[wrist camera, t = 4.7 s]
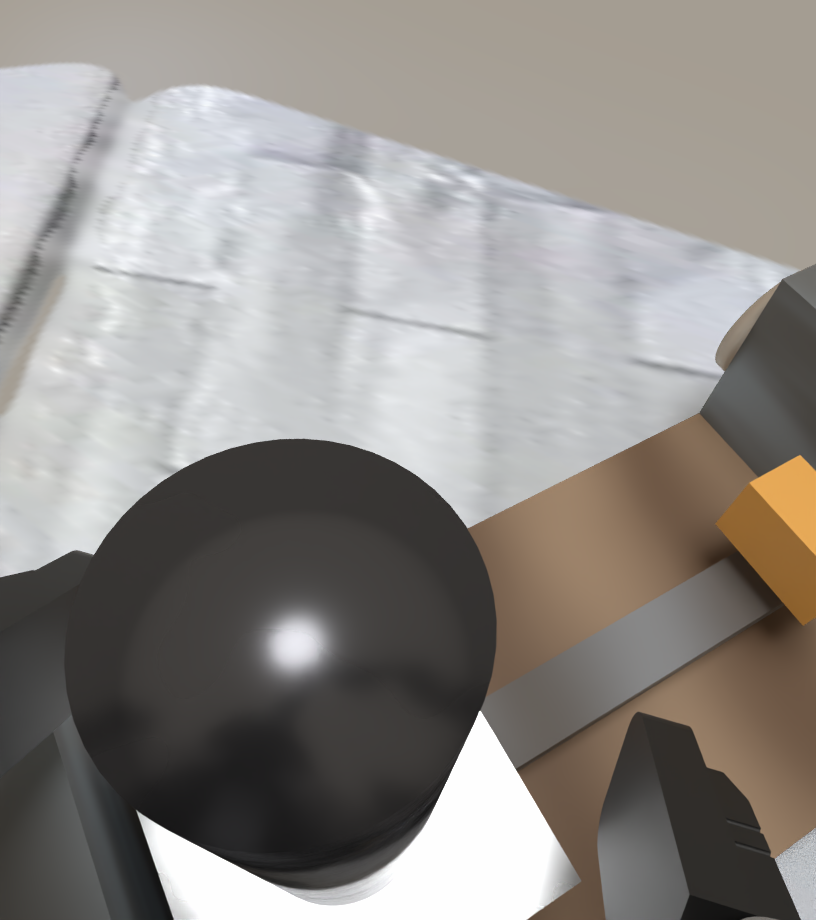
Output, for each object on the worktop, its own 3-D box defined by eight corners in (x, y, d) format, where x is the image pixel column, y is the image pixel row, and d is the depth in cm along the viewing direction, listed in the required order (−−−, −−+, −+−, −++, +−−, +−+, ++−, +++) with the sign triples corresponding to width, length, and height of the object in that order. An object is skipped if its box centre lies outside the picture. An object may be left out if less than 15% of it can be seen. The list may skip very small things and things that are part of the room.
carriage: (399, 633, 18) (434, 226, 8) (546, 891, 15) (908, 794, 5) (151, 765, 16) (-236, 466, 6) (267, 1083, 13) (-80, 1559, 3)
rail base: (749, 393, 25) (864, 227, 19) (1014, 663, 21) (1273, 552, 15) (3, 768, 18) (-176, 686, 12) (148, 1309, 13) (-28, 1601, 8)
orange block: (762, 497, 19) (800, 454, 18) (851, 594, 18) (901, 558, 16) (715, 523, 19) (748, 483, 17) (803, 625, 17) (849, 592, 16)
